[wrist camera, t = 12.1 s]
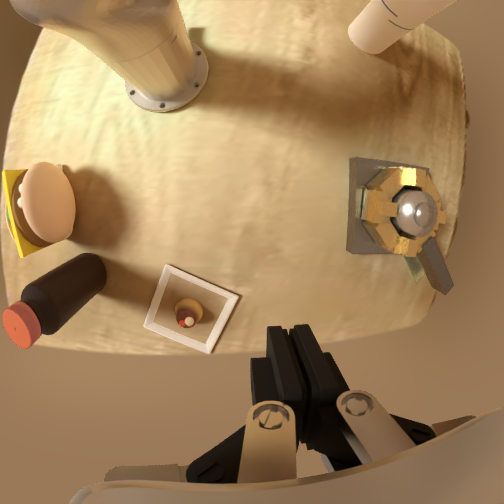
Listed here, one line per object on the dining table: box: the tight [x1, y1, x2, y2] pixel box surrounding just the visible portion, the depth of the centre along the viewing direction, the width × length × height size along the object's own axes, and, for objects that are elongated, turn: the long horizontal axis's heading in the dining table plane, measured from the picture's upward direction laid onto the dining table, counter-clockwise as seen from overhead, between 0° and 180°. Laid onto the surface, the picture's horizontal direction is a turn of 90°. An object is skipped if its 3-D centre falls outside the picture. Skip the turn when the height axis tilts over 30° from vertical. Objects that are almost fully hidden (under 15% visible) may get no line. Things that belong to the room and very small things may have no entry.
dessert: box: [143, 264, 239, 354], centre depth 40 cm, size 12×12×5 cm
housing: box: [346, 157, 438, 282], centre depth 35 cm, size 20×18×10 cm
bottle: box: [3, 253, 107, 349], centre depth 29 cm, size 7×7×20 cm
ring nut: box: [361, 167, 454, 295], centre depth 35 cm, size 22×12×6 cm, turn 42°
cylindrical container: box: [348, 0, 457, 54], centre depth 20 cm, size 7×7×25 cm
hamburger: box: [2, 162, 76, 258], centre depth 30 cm, size 12×8×12 cm
